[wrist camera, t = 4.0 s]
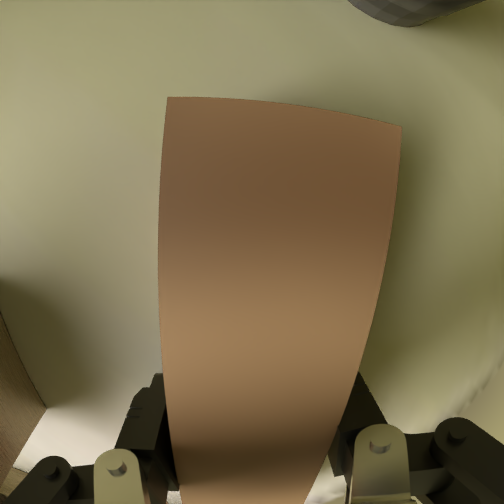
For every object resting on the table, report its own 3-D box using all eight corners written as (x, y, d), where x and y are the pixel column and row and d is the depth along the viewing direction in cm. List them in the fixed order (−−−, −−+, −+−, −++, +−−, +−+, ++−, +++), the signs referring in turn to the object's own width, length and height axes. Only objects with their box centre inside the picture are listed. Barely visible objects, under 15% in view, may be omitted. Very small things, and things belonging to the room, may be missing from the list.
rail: (197, 128, 8) (167, 97, 4) (334, 142, 8) (401, 126, 5) (196, 481, 12) (191, 542, 8) (273, 483, 13) (280, 544, 9)
